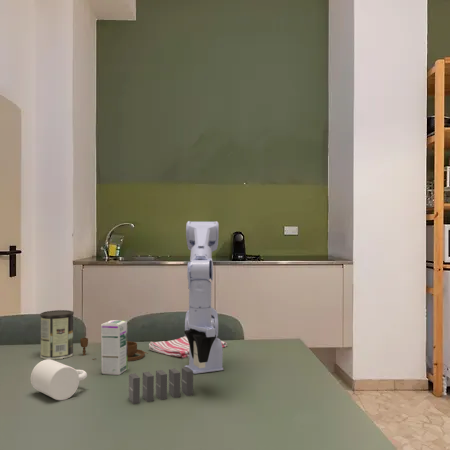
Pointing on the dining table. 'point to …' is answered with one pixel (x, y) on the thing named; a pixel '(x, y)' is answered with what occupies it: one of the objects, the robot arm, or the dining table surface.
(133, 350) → the place setting
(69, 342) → the coffee can
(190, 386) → the domino
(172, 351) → the dish towel
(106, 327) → the syrup box
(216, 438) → the dining table surface
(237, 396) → the dining table surface
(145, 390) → the domino
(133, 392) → the domino
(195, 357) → the domino
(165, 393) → the domino
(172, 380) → the domino
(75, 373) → the mug
